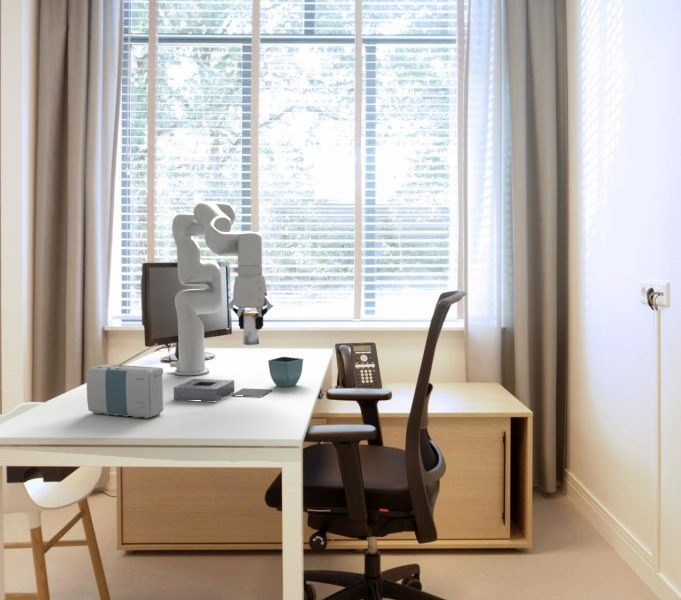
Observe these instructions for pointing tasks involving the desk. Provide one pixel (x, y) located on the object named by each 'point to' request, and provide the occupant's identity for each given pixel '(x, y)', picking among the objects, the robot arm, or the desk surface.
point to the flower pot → (285, 370)
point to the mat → (252, 392)
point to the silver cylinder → (250, 328)
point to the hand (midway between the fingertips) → (251, 328)
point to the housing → (204, 390)
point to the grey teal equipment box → (125, 389)
